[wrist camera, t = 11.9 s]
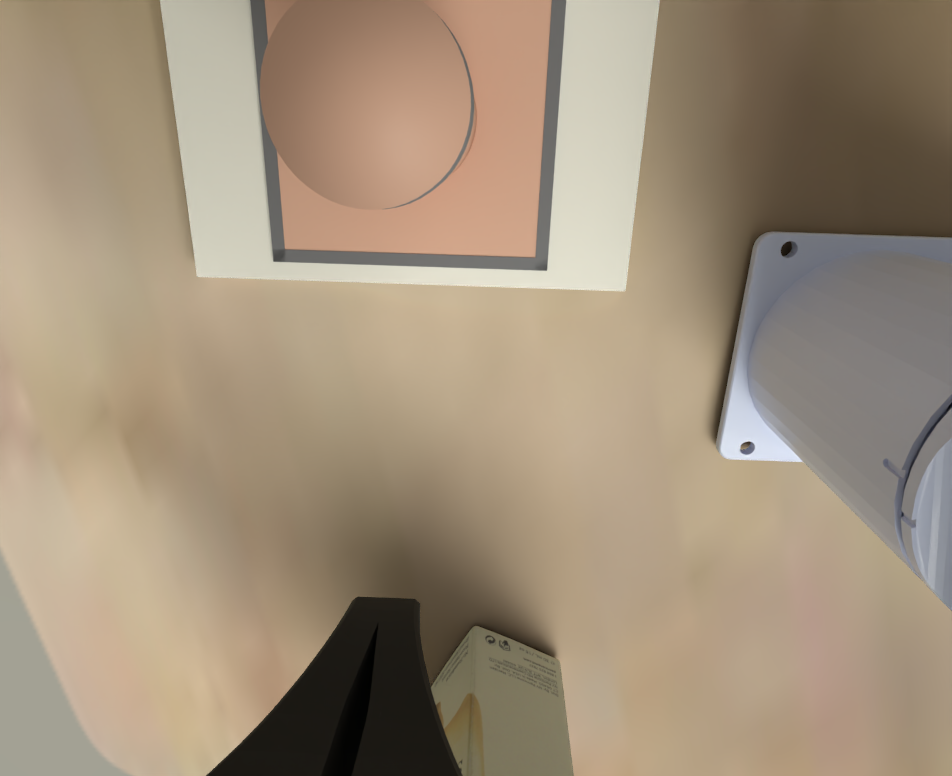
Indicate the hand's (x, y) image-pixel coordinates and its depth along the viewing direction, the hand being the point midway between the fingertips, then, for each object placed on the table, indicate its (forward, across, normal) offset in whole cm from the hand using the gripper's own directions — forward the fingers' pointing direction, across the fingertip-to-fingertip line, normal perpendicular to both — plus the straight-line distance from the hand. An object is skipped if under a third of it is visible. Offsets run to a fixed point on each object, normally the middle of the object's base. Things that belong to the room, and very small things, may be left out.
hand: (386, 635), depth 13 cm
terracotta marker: (+10, +1, -10) cm, 14 cm away
